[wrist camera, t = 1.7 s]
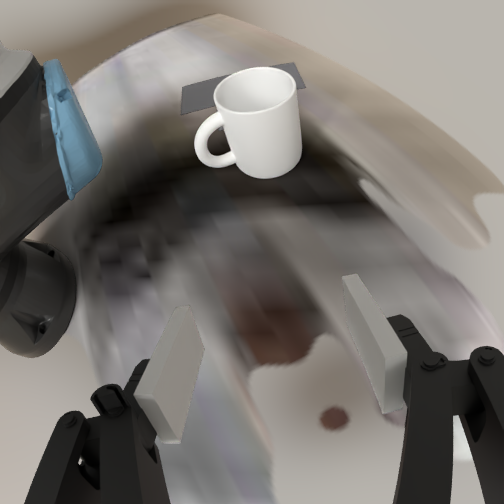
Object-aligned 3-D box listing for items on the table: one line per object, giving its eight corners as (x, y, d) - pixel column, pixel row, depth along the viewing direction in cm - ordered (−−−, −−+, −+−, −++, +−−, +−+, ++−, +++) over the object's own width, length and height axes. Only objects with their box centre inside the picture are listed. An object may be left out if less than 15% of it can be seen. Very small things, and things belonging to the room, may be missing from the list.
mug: (222, 207, 36) (193, 144, 27) (198, 162, 40) (170, 100, 31) (315, 162, 37) (312, 92, 27) (281, 123, 40) (271, 58, 31)
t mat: (181, 143, 43) (180, 140, 42) (183, 89, 49) (182, 87, 49) (316, 114, 41) (316, 111, 40) (294, 64, 47) (293, 62, 47)
